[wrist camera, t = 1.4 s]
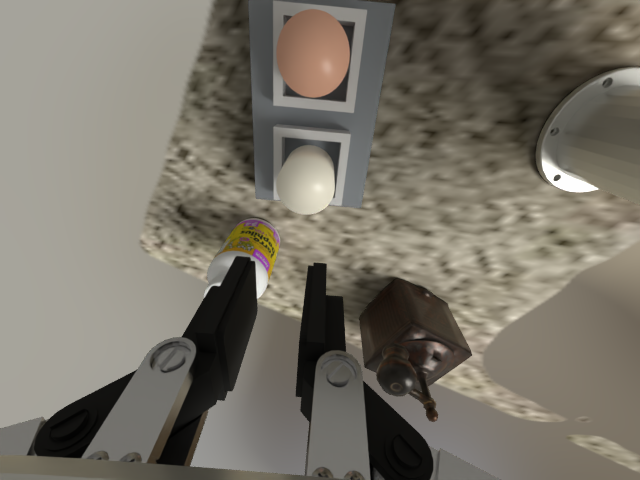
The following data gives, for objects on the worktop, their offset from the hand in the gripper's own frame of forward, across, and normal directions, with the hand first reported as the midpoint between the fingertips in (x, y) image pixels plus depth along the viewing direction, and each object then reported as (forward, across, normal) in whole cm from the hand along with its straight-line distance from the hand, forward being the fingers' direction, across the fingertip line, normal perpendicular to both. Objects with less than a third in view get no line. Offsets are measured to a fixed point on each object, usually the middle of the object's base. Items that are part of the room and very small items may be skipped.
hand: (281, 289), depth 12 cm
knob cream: (+18, 0, 0) cm, 18 cm away
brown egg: (+18, 0, -9) cm, 20 cm away
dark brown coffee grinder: (+24, -14, +22) cm, 36 cm away
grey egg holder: (+24, 0, -4) cm, 25 cm away
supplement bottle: (+24, +7, +12) cm, 28 cm away
